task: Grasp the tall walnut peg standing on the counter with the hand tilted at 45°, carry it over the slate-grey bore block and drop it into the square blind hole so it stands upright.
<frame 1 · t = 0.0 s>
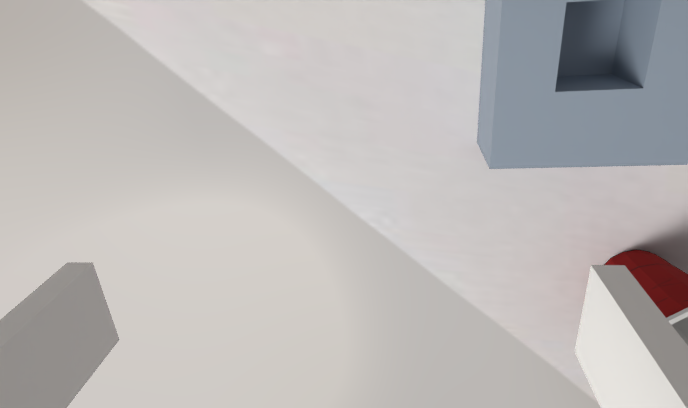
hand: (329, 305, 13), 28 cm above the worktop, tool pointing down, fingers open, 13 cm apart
plastic cup: (631, 273, 43), on the worktop
bore block: (573, 35, 34), on the worktop
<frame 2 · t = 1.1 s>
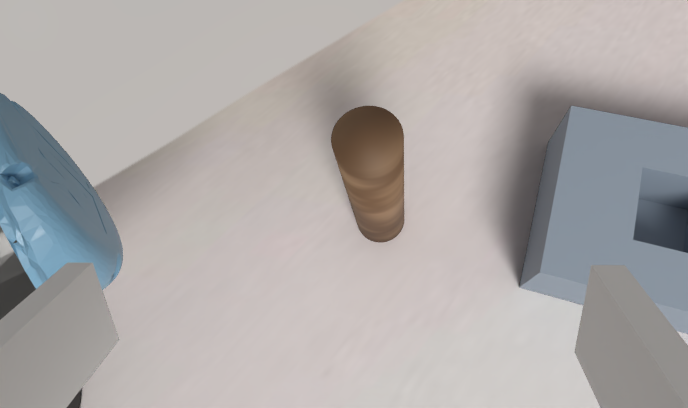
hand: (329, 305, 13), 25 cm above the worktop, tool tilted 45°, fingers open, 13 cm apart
walnut peg: (380, 219, 40), on the worktop
bore block: (639, 236, 37), on the worktop
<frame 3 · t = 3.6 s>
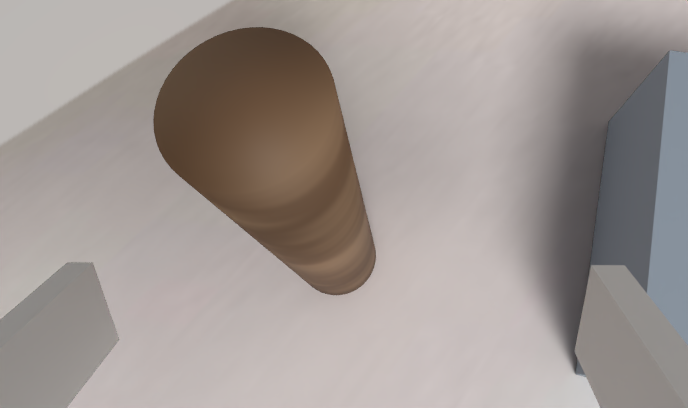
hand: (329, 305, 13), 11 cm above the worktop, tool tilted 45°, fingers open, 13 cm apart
walnut peg: (336, 255, 24), on the worktop
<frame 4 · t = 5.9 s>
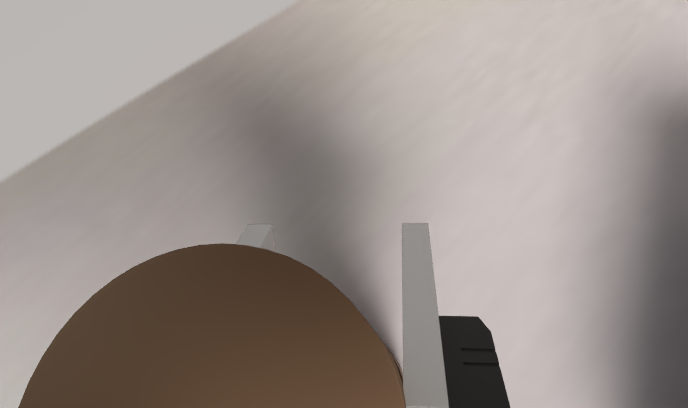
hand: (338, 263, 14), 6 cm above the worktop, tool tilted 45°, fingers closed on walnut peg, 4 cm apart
walnut peg: (354, 388, 19), on the worktop, touching gripper
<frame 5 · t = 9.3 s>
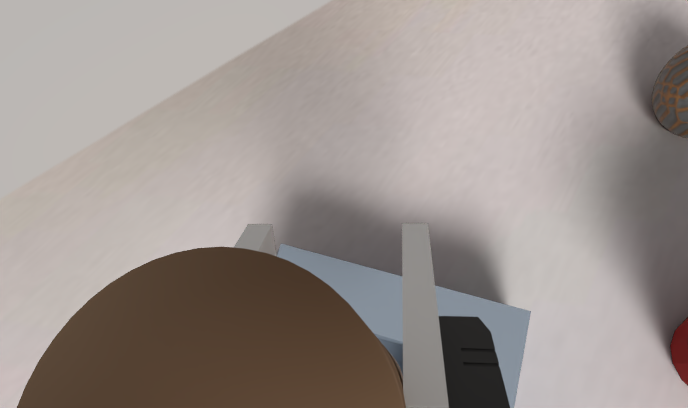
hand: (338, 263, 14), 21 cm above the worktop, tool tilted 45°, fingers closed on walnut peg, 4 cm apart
walnut peg: (354, 389, 18), point 15 cm above the worktop, touching gripper
bore block: (376, 379, 33), on the worktop
vase: (683, 114, 37), on the worktop
when the fingers open (9 cm above the worktop, at t = 12.6 s): walnut peg drops 2 cm, resting on bore block.
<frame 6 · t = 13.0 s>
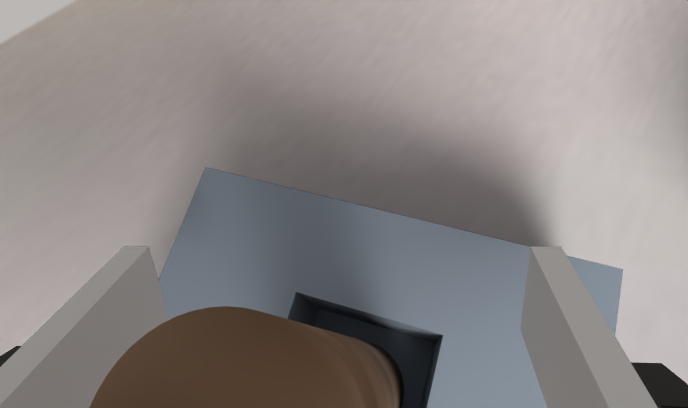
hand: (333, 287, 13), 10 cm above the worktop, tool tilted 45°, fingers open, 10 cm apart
walnut peg: (357, 388, 20), point 1 cm above the worktop, touching bore block
bore block: (360, 385, 21), on the worktop
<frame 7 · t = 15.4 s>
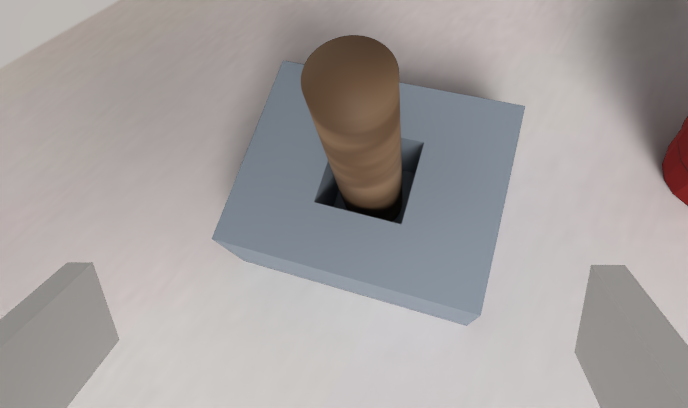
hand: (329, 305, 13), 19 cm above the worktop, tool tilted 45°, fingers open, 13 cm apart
walnut peg: (374, 201, 33), point 1 cm above the worktop, touching bore block
bore block: (375, 204, 34), on the worktop
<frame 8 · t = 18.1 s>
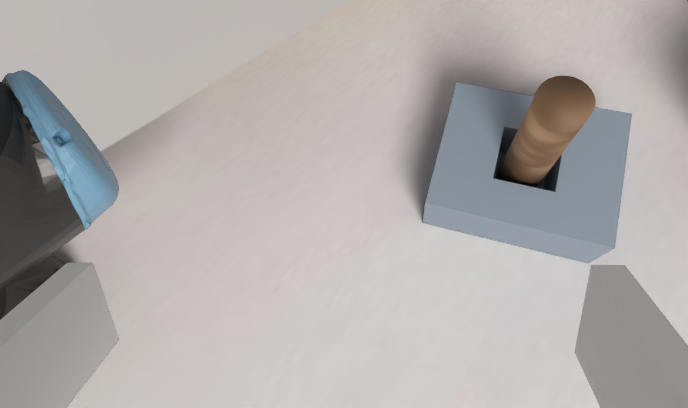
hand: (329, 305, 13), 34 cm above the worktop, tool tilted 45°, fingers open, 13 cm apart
walnut peg: (516, 179, 47), point 1 cm above the worktop, touching bore block
bore block: (514, 182, 48), on the worktop
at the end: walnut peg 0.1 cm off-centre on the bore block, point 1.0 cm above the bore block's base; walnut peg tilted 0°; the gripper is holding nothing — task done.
